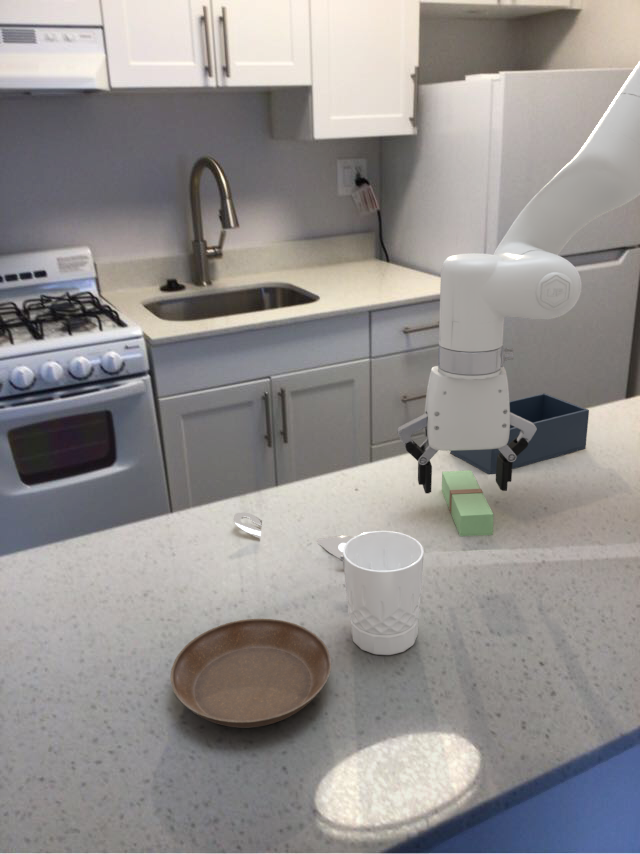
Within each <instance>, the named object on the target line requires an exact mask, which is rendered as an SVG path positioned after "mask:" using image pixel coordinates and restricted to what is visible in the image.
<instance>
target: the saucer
mask: <svg viewBox="0 0 640 854" xmlns="http://www.w3.org/2000/svg"><path fill="white" fill-rule="evenodd" d="M329 651H330V650H329V649H328V647H327V646H326V644H325V642H324V641H323V640H322V639H321V638H320V637H319V636H318V635H317V634H315V633H314V632H313V631H311V630H309V629H307V628H306V627H303V626H301V625H300V624H296V623H294V622H290V621H286V620H281V619H274V618H247V619H240V620H239V619H238V620H235V621H229V622H227V623H224V624H220V625H218V626H215V627H212V628H211V629H208V630H206V631H204V632H203V633H200V634H199V635H198V636H196V637H194V638H193V639H192V640H190V641H189V642H188V643H187V644H186V645H185V646H184V647H183V648H182V649H181V650H180V651H179V653H178V654H177V656H176V657H175V659H174V661H173V664H172V666H171V670H170V676H169V678H170V679H169V680H170V685H171V688H172V691H173V693H174V695H175V697H176V698H177V699H178V701H180V702H181V704H183V705H184V706H185V707H186V708H187V709H188V710H189V711H191V712H192V713H193V714H195V715H197V716H199V717H200V718H202V719H204V720H206V721H209V722H211V723H213V724H217V725H221V726H226V727H230V728H241V729H249V728H260V727H264V726H265V727H266V726H269V725H272V724H276V723H278V722H280V721H284V720H286V719H287V718H290V717H292V716H293V715H295V714H297V713H298V712H300V711H301V710H303V709H304V708H306V706H308V705H309V704H310V703H311V702H312V701H313V700H314V699H315V698H316V697H317V696H318V695H319V694H320V692H321V690H323V688H324V687H325V685H326V683H327V682H328V680H329V677H330V675H331V671H332V659H331V658H332V657H331V654H330V652H329Z"/></svg>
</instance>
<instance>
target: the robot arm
mask: <svg viewBox="0 0 640 854" xmlns="http://www.w3.org/2000/svg"><path fill="white" fill-rule="evenodd" d="M633 68H634V69H633V70H632V71H631V73H630V74H629V76H628V77H627V79H626V80H625V82H624V83H623V85H622V86H621V88H620V89H619V91H618V92H617V94H616V95H615V97H614V99H612V102H611V103H610V105H609V106H608V108H607V109H606V111H605V112H604V113H603V115H602V117H601V118H600V119H599V121H598V123H597V125H596V126H595V127H594V129H593V130H592V132H591V133H590V135H589V136H588V138H587V139H586V141H585V142H584V144H583V145H582V147H580V149H579V151H578V152H577V153H576V155H575V156H574V157H573V158H572V159H571V160H570V161H569V162H568V163H567V164H566V165H565V166H564V167H562V168H561V170H559V171H558V172H557V173H556V174H555V175H554V176H553V177H552V179H550V180H549V181H548V183H546V184H545V185H544V186H543V187H542V188H541V189H540V190H539V191H538V192H537V193H536V194H535V195H533V197H532V198H531V199H530V200H529V201H528V203H526V205H525V206H524V207H523V208H522V210H521V211H520V212H519V214H518V215H517V216H516V218H515V219H514V221H513V222H512V224H511V225H510V227H509V228H508V230H507V231H506V233H505V234H504V236H503V238H502V239H501V241H500V242H499V244H498V245H497V247H496V249H495V250H494V252H493V254H491V253H481V252H480V253H477V252H475V253H473V252H472V253H458V254H455V255H451V256H448V257H446V259H444V261H443V263H442V265H441V269H440V284H439V285H440V286H439V288H440V289H439V290H440V291H439V317H438V318H439V319H438V321H439V322H438V323H439V325H438V352H437V353H438V359H437V365H435V366H433V367H431V369H430V372H429V375H428V376H429V377H428V381H427V386H426V387H427V389H426V394H425V404H424V413H423V414H421V415H420V416H418V417H416V418H414V419H411V420H409V421H408V422H406V423H404V424H402V425H400V426H398V427H397V429H396V433H397V436H398V438H399V439H400V441H401V443H402V444H403V446H404V448H405V450H406V452H407V453H408V454H409V455H410V456H411V457H413V458H414V459H415V460H416V461H417V483H418V485H419V486H422V487H423V491H424V494H426V495H427V494H430V493H432V483H433V482H432V479H433V464H432V462H431V460H432V458H433V457H434V456H435V455H436V454H437V453H439V452H438V451H440V452H441V451H444V452H446V451H448V452H450V451H453V450H483V449H498V450H499V451H500V453H499V455H497V466H496V474H495V482H496V484H497V486H498V488H499V490H500V491H501V492H507V491H508V483H509V482H512V477H513V469H512V464H513V462H514V461H515V460H516V458H517V457H516V456H518V455H519V454H520V453H521V452H522V451H523V450H524V449H525V448H527V446H528V442H529V441H530V440H531V439H532V437H533V435H534V434H535V432H536V430H537V428H536V426H535V425H534V424H533V423H532V422H530V421H528V420H526V419H524V418H522V417H519V416H517V415H515V414H513V413H511V412H510V405H509V401H510V391H509V381H508V375H507V370H506V368H505V367H504V363H505V362H508V361H509V360H511V361H512V360H514V358H515V350H514V348H508V347H505V346H504V345H503V343H504V326H505V318H515V319H523V320H525V319H526V320H535V321H547V320H554V319H557V318H559V317H562V316H564V315H566V314H567V313H569V312H570V311H571V310H572V309H573V308H574V307H575V306H576V304H577V303H578V301H579V299H580V298H581V295H582V286H583V285H582V277H581V274H580V273H579V270H578V269H577V268H576V267H575V265H574V264H573V263H572V262H570V261H569V260H568V259H566V258H565V257H562V256H561V255H559V254H560V253H561V252H562V250H563V249H564V248H565V246H566V245H567V244H568V243H569V241H570V240H571V239H572V238H573V237H574V236H575V235H576V234H577V233H578V232H579V231H581V229H583V228H584V227H586V226H587V225H588V224H589V223H591V222H592V221H594V220H595V219H597V218H599V217H601V216H603V215H605V214H607V213H609V212H612V211H613V210H616V209H619V208H620V207H623V206H625V205H626V204H628V203H630V202H631V201H633V200H635V199H636V198H638V197H639V196H640V60H638V63H636V65H635V66H634V67H633ZM510 425H512V426H514V427H516V428H518V429H520V430H521V432H520V433H519V436H517V437H516V438H515V439H514V440H513V441H512V442H510V443H509V444H508V440H509V433H510ZM422 430H423V435H424V436H425V439H424V441H423V442H422V443H421V444H420V445H419V444H417V442H415V441H414V440H413V438H412V435H414V434H415V433H417V432H419V431H422Z"/></svg>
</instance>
